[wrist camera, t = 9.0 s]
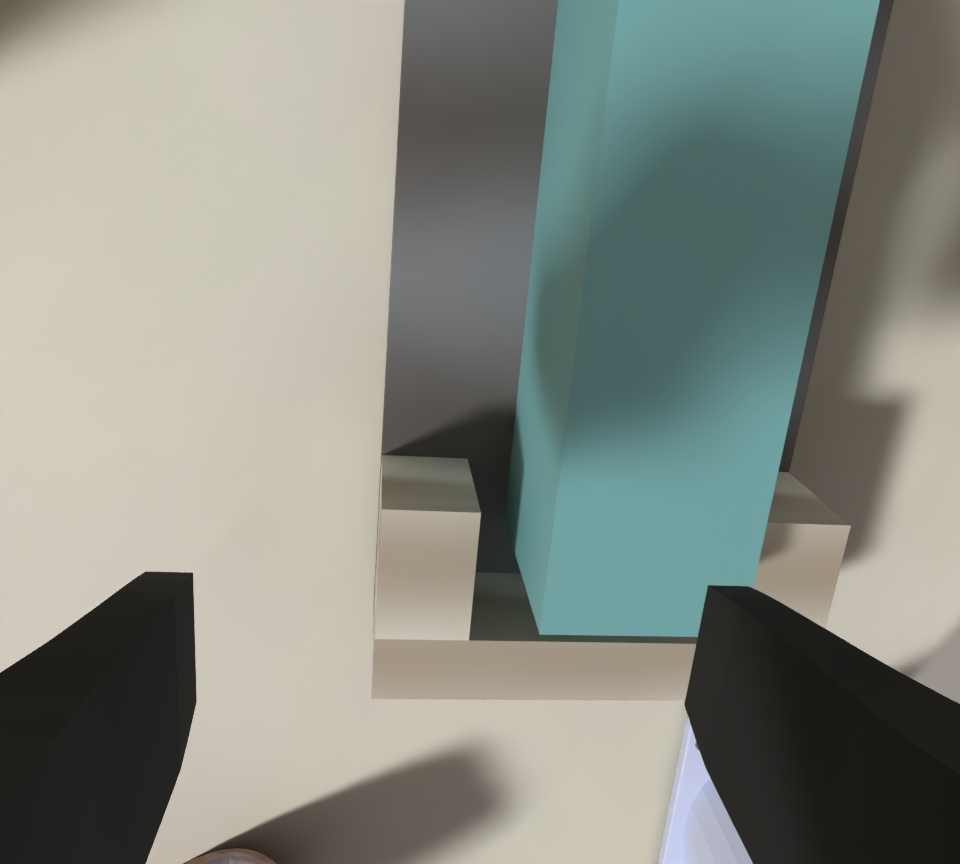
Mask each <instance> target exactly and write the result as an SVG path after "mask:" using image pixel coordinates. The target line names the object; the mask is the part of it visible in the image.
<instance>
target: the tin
mask: <svg viewBox="0 0 960 864" xmlns="http://www.w3.org/2000/svg"><path fill="white" fill-rule="evenodd" d="M184 864H276V863H275V862H274V861H273V860H271V859H270V858H269V857H267V856H265V855H263V854H261V853H259V852H256V851H252V850H249V849H225V850H219V851H215V852H211V853H208V854H205V855H202V856H199V857H196V858H194V859H192V860H190V861H188V862H186V863H184Z"/></svg>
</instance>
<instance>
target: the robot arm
mask: <svg viewBox="0 0 960 864" xmlns="http://www.w3.org/2000/svg"><path fill="white" fill-rule="evenodd" d="M195 706H196V669H195V633H194V596H193V573H180V572H144V573H143V574H141V575H140V576H138V577H137V578H135V579H134V580H132V581H131V582H130V583H128V584H127V585H125V586H124V587H123V588H121V589H120V590H119V591H117V592H116V593H115V594H113V595H112V596H111V597H109V598H108V599H107V600H105V601H104V602H103V603H101V604H100V605H99V606H97V607H96V608H94V609H93V610H92V611H90V612H89V613H88V614H86V615H85V616H83V617H82V618H81V619H79V620H78V621H76V622H75V623H74V624H72V625H71V626H70V627H68V628H67V629H65V630H64V631H63V632H61V633H60V634H58V635H57V636H56V637H54V638H53V639H51V640H50V641H49V642H47V643H46V644H44V645H43V646H41V647H39V648H38V649H36V650H35V651H33V652H32V653H30V654H29V655H27V656H26V657H24V658H22V659H21V660H19V661H18V662H16V663H15V664H13V665H12V666H10V667H9V668H7V669H5V670H4V671H2V672H1V673H0V864H145V863H146V861H147V858H148V855H149V853H150V850H151V848H152V845H153V842H154V840H155V837H156V834H157V832H158V829H159V826H160V824H161V821H162V818H163V816H164V813H165V810H166V808H167V805H168V802H169V800H170V797H171V794H172V791H173V789H174V786H175V783H176V781H177V778H178V775H179V772H180V769H181V766H182V762H183V757H184V753H185V749H186V745H187V741H188V737H189V732H190V728H191V723H192V719H193V715H194V710H195ZM685 708H686V711H687V714H688V718H687V720H686V724H685V729H684V734H683V739H682V744H681V749H680V754H679V760H678V765H677V770H676V775H675V780H674V785H673V790H672V795H671V800H670V805H669V810H668V815H667V820H666V825H665V830H664V835H663V840H662V845H661V850H660V855H659V860H658V864H960V704H959V703H957V702H955V701H952V700H951V699H949V698H947V697H945V696H943V695H941V694H939V693H937V692H935V691H934V690H932V689H930V688H928V687H926V686H924V685H922V684H920V683H919V682H917V681H915V680H913V679H911V678H909V677H907V676H906V675H904V674H902V673H900V672H898V671H896V670H895V669H893V668H891V667H889V666H888V665H886V664H884V663H882V662H881V661H879V660H877V659H875V658H874V657H872V656H870V655H868V654H867V653H865V652H863V651H862V650H860V649H858V648H857V647H855V646H853V645H851V644H850V643H848V642H846V641H845V640H843V639H841V638H840V637H838V636H836V635H835V634H833V633H831V632H830V631H828V630H826V629H825V628H823V627H821V626H820V625H818V624H816V623H815V622H813V621H811V620H810V619H808V618H806V617H805V616H803V615H801V614H800V613H798V612H796V611H795V610H793V609H791V608H789V607H788V606H786V605H784V604H782V603H781V602H779V601H777V600H775V599H773V598H772V597H770V596H768V595H766V594H764V593H762V592H760V591H758V590H756V589H753V588H751V587H749V586H718V585H708V587H707V592H706V597H705V603H704V608H703V613H702V618H701V623H700V628H699V633H698V638H697V643H696V648H695V653H694V658H693V663H692V668H691V674H690V679H689V684H688V689H687V694H686V699H685Z"/></svg>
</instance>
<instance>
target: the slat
mask: <svg viewBox="0 0 960 864" xmlns="http://www.w3.org/2000/svg"><path fill="white" fill-rule="evenodd" d="M879 2H880V0H558V8H557V18H556V27H555V37H554V47H553V56H552V66H551V76H550V85H549V95H548V105H547V114H546V124H545V134H544V143H543V153H542V163H541V172H540V182H539V191H538V201H537V211H536V220H535V230H534V240H533V249H532V259H531V269H530V278H529V288H528V298H527V307H526V317H525V327H524V336H523V346H522V356H521V365H520V375H519V385H518V394H517V404H516V414H515V423H514V433H513V442H512V452H511V462H510V471H509V481H508V491H507V500H506V510H505V523H506V526H507V529H508V533H509V536H510V539H511V542H512V546H513V549H514V552H515V555H516V559H517V562H518V565H519V569H520V572H521V575H522V578H523V582H524V585H525V588H526V591H527V595H528V598H529V601H530V605H531V608H532V611H533V614H534V618H535V621H536V624H537V627H538V631H539V634H540V635H599V636H668V637H698V633H699V628H700V623H701V618H702V613H703V608H704V603H705V597H706V592H707V587H708V585H718V586H749V587H751V588H753V587H754V582H755V577H756V573H757V568H758V564H759V559H760V554H761V550H762V545H763V540H764V536H765V531H766V526H767V522H768V517H769V513H770V508H771V503H772V499H773V494H774V489H775V485H776V480H777V475H778V471H779V466H780V462H781V457H782V452H783V448H784V443H785V438H786V434H787V429H788V424H789V420H790V415H791V411H792V406H793V401H794V397H795V392H796V387H797V383H798V378H799V373H800V369H801V364H802V359H803V355H804V350H805V346H806V341H807V336H808V332H809V327H810V322H811V318H812V313H813V308H814V304H815V299H816V295H817V290H818V285H819V281H820V276H821V271H822V267H823V262H824V257H825V253H826V248H827V244H828V239H829V234H830V230H831V225H832V220H833V216H834V211H835V206H836V202H837V197H838V193H839V188H840V183H841V179H842V174H843V169H844V165H845V160H846V155H847V151H848V146H849V142H850V137H851V132H852V128H853V123H854V118H855V114H856V109H857V104H858V100H859V95H860V90H861V86H862V81H863V77H864V72H865V67H866V63H867V58H868V53H869V49H870V44H871V39H872V35H873V30H874V26H875V21H876V16H877V12H878V7H879Z"/></svg>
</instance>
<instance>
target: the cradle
mask: <svg viewBox="0 0 960 864" xmlns="http://www.w3.org/2000/svg"><path fill="white" fill-rule="evenodd" d="M892 4H893V0H880V2H879V7H878V12H877V16H876V21H875V26H874V30H873V35H872V39H871V44H870V49H869V53H868V58H867V63H866V67H865V72H864V77H863V81H862V86H861V90H860V95H859V100H858V104H857V109H856V114H855V118H854V123H853V128H852V132H851V137H850V142H849V146H848V151H847V155H846V160H845V165H844V169H843V174H842V179H841V183H840V188H839V193H838V197H837V202H836V206H835V211H834V216H833V220H832V225H831V230H830V234H829V239H828V244H827V248H826V253H825V257H824V262H823V267H822V271H821V276H820V281H819V285H818V290H817V295H816V299H815V304H814V308H813V313H812V318H811V322H810V327H809V332H808V336H807V341H806V346H805V350H804V355H803V359H802V364H801V369H800V373H799V378H798V383H797V387H796V392H795V397H794V401H793V406H792V411H791V415H790V420H789V424H788V429H787V434H786V438H785V443H784V448H783V452H782V457H781V462H780V466H779V471H778V475H777V480H776V485H775V489H774V494H773V499H772V503H771V508H770V513H769V517H768V522H767V526H766V531H765V536H764V540H763V545H762V550H761V554H760V559H759V564H758V568H757V573H756V577H755V582H754V587H753V589H756V590H758V591H760V592H762V593H764V594H766V595H768V596H770V597H772V598H773V599H775V600H777V601H779V602H781V603H782V604H784V605H786V606H788V607H789V608H791V609H793V610H795V611H796V612H798V613H800V614H801V615H803V616H805V617H806V618H808V619H810V620H811V621H813V622H815V623H816V624H818V625H820V626H821V627H823V628H825V626H826V622H827V618H828V614H829V610H830V607H831V603H832V599H833V595H834V591H835V587H836V583H837V579H838V575H839V571H840V567H841V563H842V559H843V555H844V551H845V547H846V543H847V539H848V535H849V532H850V528H851V525H850V524H849V523H847V522H846V521H845V520H844V519H843V518H842V517H840V516H839V515H838V514H837V513H836V512H835V511H833V510H832V509H831V508H830V507H829V506H828V505H826V504H825V503H824V502H823V501H822V500H821V499H819V498H818V497H817V496H816V495H815V494H814V493H812V492H811V491H810V490H809V489H808V488H807V487H805V486H804V485H803V484H802V483H801V482H799V481H798V480H797V479H796V478H795V477H794V476H792V475H791V474H790V473H789V469H790V464H791V460H792V455H793V451H794V446H795V442H796V437H797V433H798V428H799V424H800V419H801V415H802V410H803V406H804V401H805V397H806V392H807V388H808V383H809V379H810V374H811V370H812V365H813V361H814V356H815V351H816V347H817V342H818V338H819V333H820V329H821V324H822V320H823V315H824V311H825V306H826V302H827V297H828V293H829V288H830V284H831V279H832V275H833V270H834V266H835V261H836V257H837V252H838V248H839V243H840V239H841V234H842V230H843V225H844V221H845V216H846V212H847V207H848V203H849V198H850V194H851V189H852V185H853V180H854V176H855V171H856V167H857V162H858V158H859V153H860V149H861V144H862V139H863V135H864V130H865V126H866V121H867V117H868V112H869V108H870V103H871V99H872V94H873V90H874V85H875V81H876V76H877V72H878V67H879V63H880V58H881V54H882V49H883V45H884V40H885V36H886V31H887V27H888V22H889V18H890V13H891V9H892ZM557 8H558V0H405V6H404V25H403V45H402V64H401V83H400V103H399V122H398V141H397V161H396V180H395V200H394V219H393V238H392V258H391V277H390V297H389V316H388V335H387V355H386V374H385V393H384V413H383V432H382V452H381V471H380V490H379V510H378V529H377V549H376V568H375V587H374V612H373V657H372V699H496V700H661V701H685V699H686V694H687V689H688V684H689V679H690V674H691V668H692V663H693V658H694V653H695V648H696V643H697V638H698V637H668V636H599V635H540V634H539V631H538V627H537V624H536V621H535V618H534V614H533V611H532V608H531V605H530V601H529V598H528V595H527V591H526V588H525V585H524V582H523V578H522V575H521V572H520V569H519V565H518V562H517V559H516V555H515V552H514V549H513V546H512V542H511V539H510V536H509V533H508V529H507V526H506V523H505V510H506V500H507V491H508V481H509V471H510V462H511V452H512V442H513V433H514V423H515V414H516V404H517V394H518V385H519V375H520V365H521V356H522V346H523V336H524V327H525V317H526V307H527V298H528V288H529V278H530V269H531V259H532V249H533V240H534V230H535V220H536V211H537V201H538V191H539V182H540V172H541V163H542V153H543V143H544V134H545V124H546V114H547V105H548V95H549V85H550V76H551V66H552V56H553V47H554V37H555V27H556V18H557Z"/></svg>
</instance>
